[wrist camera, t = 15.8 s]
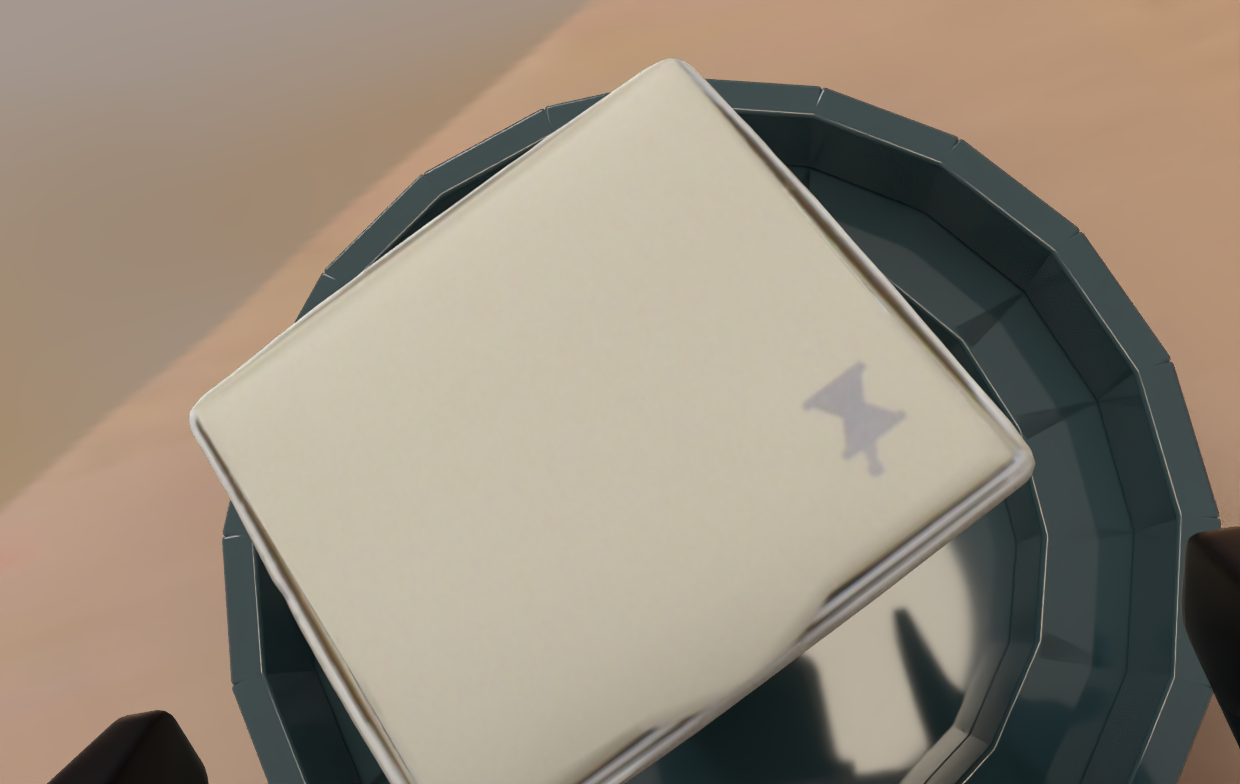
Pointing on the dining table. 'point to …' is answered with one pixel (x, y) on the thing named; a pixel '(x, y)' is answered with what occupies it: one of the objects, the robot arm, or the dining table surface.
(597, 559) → the box
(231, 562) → the bowl
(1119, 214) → the dining table surface
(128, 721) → the robot arm
